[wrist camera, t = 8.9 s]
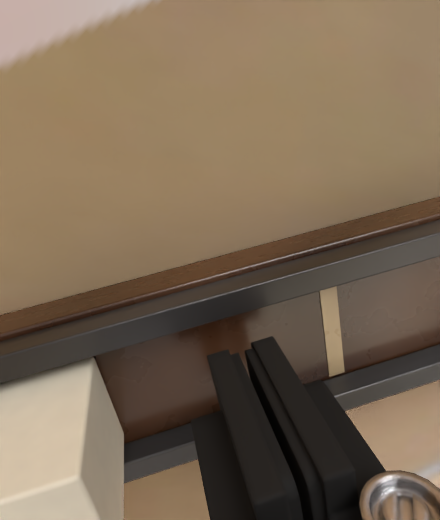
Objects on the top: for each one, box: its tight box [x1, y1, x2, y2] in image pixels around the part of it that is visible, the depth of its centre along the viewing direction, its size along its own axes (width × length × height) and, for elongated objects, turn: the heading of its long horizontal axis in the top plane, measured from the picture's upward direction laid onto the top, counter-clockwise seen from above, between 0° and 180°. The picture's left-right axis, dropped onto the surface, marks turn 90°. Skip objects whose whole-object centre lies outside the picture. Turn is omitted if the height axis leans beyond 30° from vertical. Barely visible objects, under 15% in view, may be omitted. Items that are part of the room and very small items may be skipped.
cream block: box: [0, 357, 124, 520], centre depth 9 cm, size 4×3×4 cm
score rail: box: [0, 197, 440, 483], centre depth 12 cm, size 26×5×2 cm, turn 101°
